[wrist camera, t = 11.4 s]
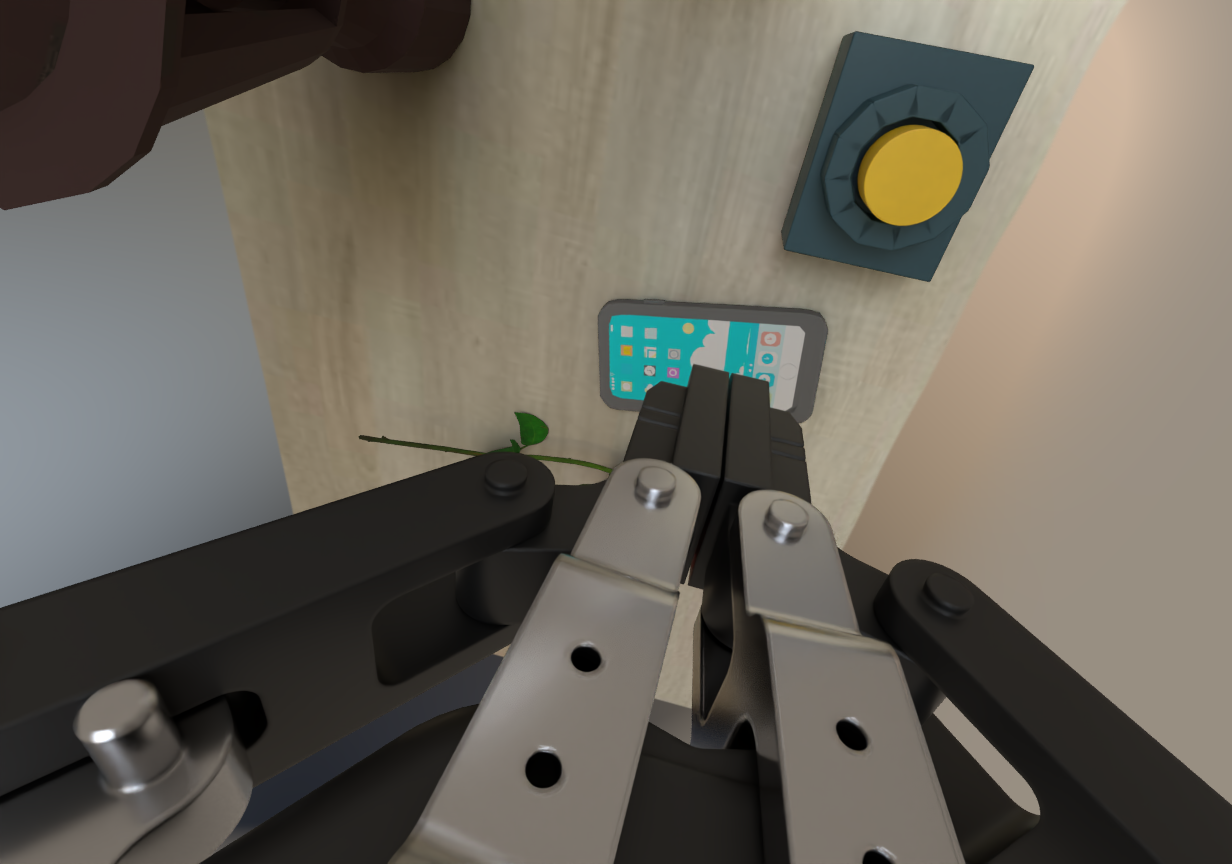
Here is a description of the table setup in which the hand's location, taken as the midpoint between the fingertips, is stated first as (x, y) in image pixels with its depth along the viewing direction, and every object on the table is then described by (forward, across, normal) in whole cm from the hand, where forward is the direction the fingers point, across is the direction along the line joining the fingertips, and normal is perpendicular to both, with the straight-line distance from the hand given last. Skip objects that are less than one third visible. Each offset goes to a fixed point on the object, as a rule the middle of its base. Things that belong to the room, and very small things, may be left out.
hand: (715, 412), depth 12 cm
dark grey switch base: (+27, -7, -3) cm, 28 cm away
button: (+21, -7, -3) cm, 23 cm away
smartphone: (+27, -1, +11) cm, 29 cm away
